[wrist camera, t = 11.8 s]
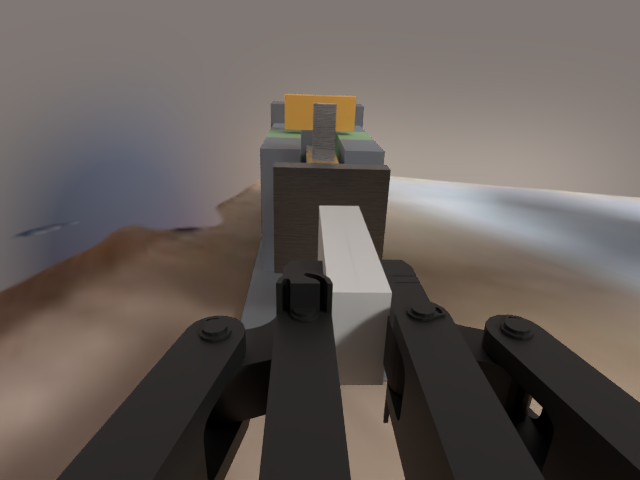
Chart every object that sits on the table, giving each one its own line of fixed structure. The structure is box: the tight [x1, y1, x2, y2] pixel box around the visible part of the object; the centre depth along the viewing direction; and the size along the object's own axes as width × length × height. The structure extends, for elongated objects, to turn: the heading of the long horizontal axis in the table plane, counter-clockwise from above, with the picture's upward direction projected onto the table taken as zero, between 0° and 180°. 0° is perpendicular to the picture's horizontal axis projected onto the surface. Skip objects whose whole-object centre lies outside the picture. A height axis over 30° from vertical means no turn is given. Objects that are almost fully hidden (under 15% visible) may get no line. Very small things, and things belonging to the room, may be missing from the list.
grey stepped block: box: [240, 101, 388, 381], centre depth 37 cm, size 32×11×13 cm, turn 2°
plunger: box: [273, 103, 390, 273], centre depth 30 cm, size 17×6×8 cm, turn 2°
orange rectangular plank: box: [285, 94, 356, 131], centre depth 39 cm, size 2×6×3 cm, turn 92°
